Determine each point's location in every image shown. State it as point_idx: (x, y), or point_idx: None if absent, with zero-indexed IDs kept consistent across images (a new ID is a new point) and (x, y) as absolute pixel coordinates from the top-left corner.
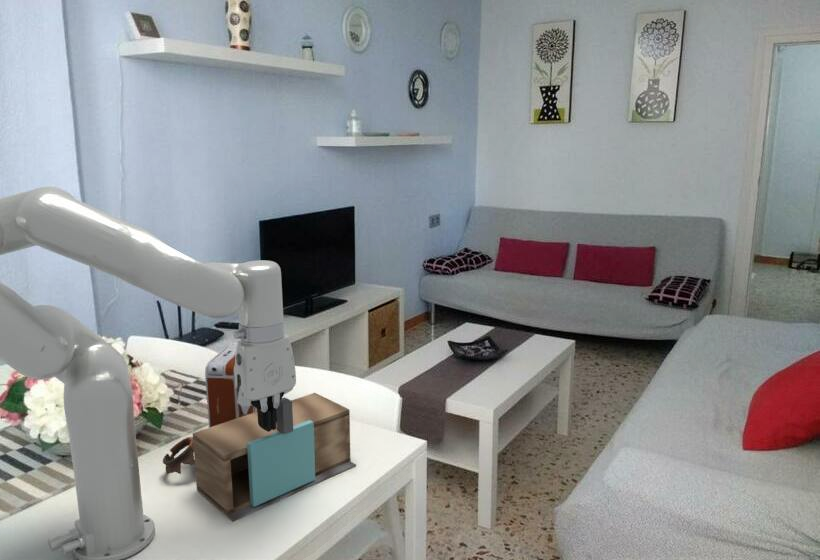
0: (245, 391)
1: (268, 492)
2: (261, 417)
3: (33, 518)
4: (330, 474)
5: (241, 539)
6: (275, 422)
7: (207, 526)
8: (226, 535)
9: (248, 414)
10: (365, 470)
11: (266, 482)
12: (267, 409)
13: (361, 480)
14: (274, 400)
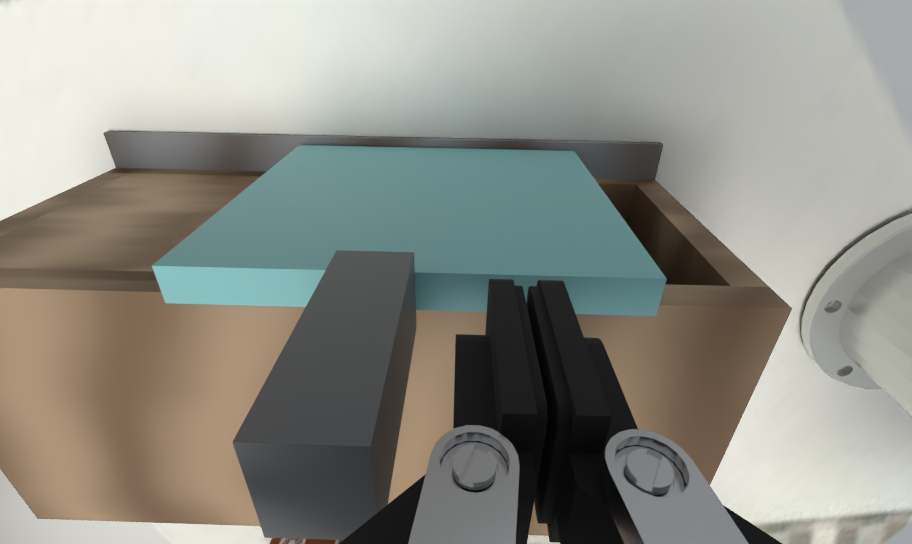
0: None
1: (512, 159)
2: (620, 406)
3: (908, 478)
4: (228, 142)
5: (723, 15)
6: (498, 311)
7: (726, 178)
8: (733, 82)
9: (329, 541)
10: (82, 74)
11: (524, 174)
12: (607, 446)
13: (127, 18)
14: (502, 533)
